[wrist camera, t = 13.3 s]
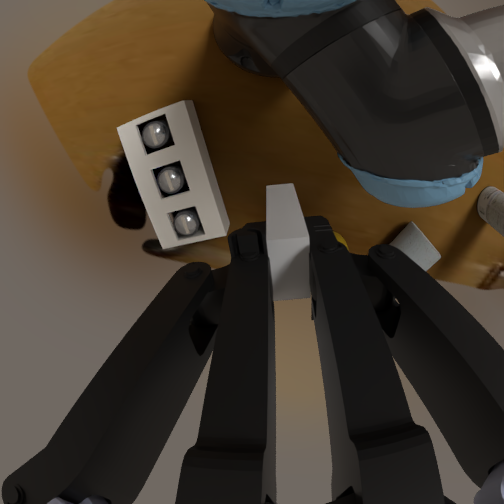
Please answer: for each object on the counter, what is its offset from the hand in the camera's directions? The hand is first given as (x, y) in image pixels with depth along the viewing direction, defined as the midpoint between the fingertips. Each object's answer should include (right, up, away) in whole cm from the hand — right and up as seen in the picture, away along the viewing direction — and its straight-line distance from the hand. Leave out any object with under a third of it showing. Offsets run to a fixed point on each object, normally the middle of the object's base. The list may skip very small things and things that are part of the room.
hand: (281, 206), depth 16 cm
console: (-12, +9, +22) cm, 27 cm away
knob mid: (-12, +9, +22) cm, 26 cm away
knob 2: (-11, +3, +25) cm, 27 cm away
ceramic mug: (+25, -2, +26) cm, 36 cm away
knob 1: (-14, +14, +19) cm, 27 cm away
